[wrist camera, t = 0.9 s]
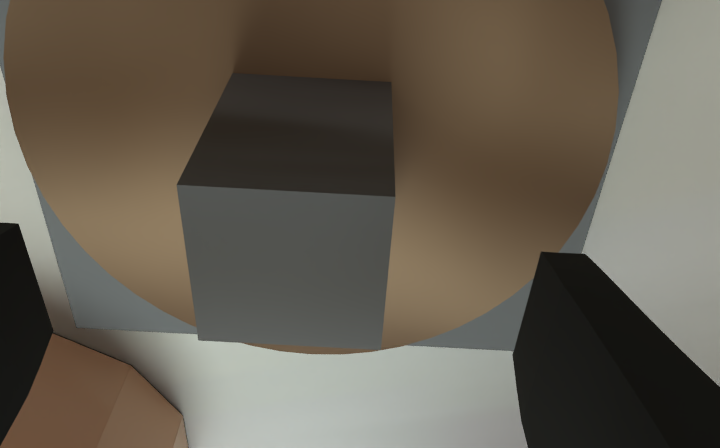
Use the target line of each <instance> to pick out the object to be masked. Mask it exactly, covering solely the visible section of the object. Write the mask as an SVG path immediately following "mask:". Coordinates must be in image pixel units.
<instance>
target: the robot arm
mask: <svg viewBox="0 0 720 448" xmlns="http://www.w3.org/2000/svg"><path fill="white" fill-rule="evenodd" d="M52 333H53V328H52V325H51V322H50V319H49V316H48V313H47V310H46V307H45V304H44V301H43V298H42V295H41V292H40V288H39V285H38V282H37V279H36V276H35V273H34V270H33V267H32V264H31V261H30V258H29V255H28V252H27V249H26V246H25V242H24V239H23V236H22V233H21V230H20V227H19V224H15V223H0V446H1V444H2V442H3V440H4V439H5V437H6V435H7V433H8V431H9V430H10V428H11V426H12V424H13V422H14V420H15V419H16V417H17V415H18V413H19V411H20V410H21V408H22V406H23V404H24V402H25V400H26V398H27V397H28V394H29V392H30V390H31V387H32V385H33V382H34V380H35V378H36V375H37V373H38V370H39V368H40V365H41V363H42V360H43V357H44V355H45V352H46V349H47V347H48V344H49V341H50V339H51V336H52ZM513 361H514V369H515V377H516V386H517V393H518V400H519V407H520V414H521V421H522V425H523V429H524V433H525V437H526V441H527V445H528V448H720V387H719V386H718V385H717V384H716V383H715V382H714V381H713V380H712V379H711V378H710V377H708V376H707V375H706V374H705V373H704V372H703V371H702V370H701V369H700V368H699V367H698V366H697V365H696V364H695V363H694V362H693V361H692V360H691V359H690V358H689V357H687V356H686V355H685V354H684V353H683V352H682V351H681V350H680V349H679V348H678V347H677V346H676V345H675V344H674V343H673V342H672V341H671V340H670V339H669V338H668V337H667V336H666V335H665V334H664V333H663V332H662V331H661V330H660V329H659V328H658V327H657V326H656V325H655V324H654V323H653V322H652V321H651V320H650V319H649V318H648V317H647V316H646V315H645V314H644V313H643V312H642V311H641V310H640V309H639V308H638V307H637V306H636V305H635V304H634V303H633V302H632V301H631V300H630V298H629V297H628V296H627V295H626V294H625V293H624V292H623V291H622V290H621V289H620V288H619V287H618V286H617V285H616V284H615V283H614V282H613V281H612V280H611V279H610V278H609V277H608V276H607V275H606V274H605V273H604V272H603V271H602V270H601V269H600V268H599V267H598V266H597V265H596V264H595V263H594V262H593V261H592V260H591V259H590V258H589V257H588V256H587V255H586V254H576V253H558V252H541V253H540V257H539V261H538V264H537V268H536V272H535V275H534V279H533V283H532V286H531V290H530V294H529V297H528V301H527V304H526V308H525V312H524V315H523V319H522V323H521V326H520V330H519V334H518V337H517V341H516V345H515V348H514V352H513Z"/></svg>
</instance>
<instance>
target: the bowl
mask: <svg viewBox="0 0 720 448" xmlns="http://www.w3.org/2000/svg"><path fill="white" fill-rule="evenodd" d="M0 448H188V443H187V438H186V432H185V426H184V421H183V415H181V414H180V413H179V412H178V411H177V410H176V409H175V408H174V407H173V406H172V405H171V404H170V403H169V402H168V401H167V400H166V399H165V398H164V397H163V396H162V395H161V394H160V393H159V392H158V391H157V390H156V389H155V388H154V387H153V386H152V385H151V384H149V383H148V382H147V381H146V380H145V379H144V378H143V377H142V376H141V375H140V374H139V373H138V372H137V371H136V370H135V369H134V368H133V367H132V366H131V365H128V364H126V363H123V362H121V361H119V360H116V359H114V358H111V357H109V356H106V355H104V354H102V353H99V352H97V351H94V350H92V349H89V348H87V347H85V346H82V345H80V344H77V343H75V342H72V341H70V340H67V339H65V338H63V337H60V336H58V335H55V334H53V333H52V336H51V339H50V341H49V344H48V347H47V349H46V352H45V355H44V357H43V360H42V363H41V365H40V368H39V370H38V373H37V375H36V378H35V380H34V382H33V385H32V387H31V390H30V392H29V394H28V397H27V398H26V400H25V402H24V404H23V406H22V408H21V410H20V411H19V413H18V415H17V417H16V419H15V420H14V422H13V424H12V426H11V428H10V430H9V431H8V433H7V435H6V437H5V439H4V440H3V442H2V444H1V446H0Z"/></svg>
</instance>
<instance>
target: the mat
mask: <svg viewBox="0 0 720 448" xmlns="http://www.w3.org/2000/svg"><path fill="white" fill-rule="evenodd" d="M661 1H662V0H604V3H605V5H606V8H607V11H608V14H609V18H610V23H611V28H612V33H613V38H614V43H615V47H616V52H617V68H618V86H619V96H618V107H617V117H616V128H615V133H614V137H613V141H612V146H611V150H610V154H609V158H608V162H607V166H606V168H605V171H604V173H603V176H602V178H601V181H600V183H599V186H598V189H597V191H596V194H595V196H594V198H593V200H592V202H591V203H590V205H589V207H588V209H587V211H586V212H585V214H584V216H583V218H582V220H581V221H580V223H579V225H578V227H577V228H576V229H575V231H574V232H573V233H572V235H571V236H570V237H569V239H568V240H567V241H566V243H565V244H564V246H563V247H562V248H561V250H560V251H559V252H558V253H576V254H581V252H582V249H583V246H584V243H585V240H586V237H587V234H588V230H589V227H590V224H591V221H592V218H593V215H594V212H595V208H596V205H597V202H598V199H599V196H600V193H601V190H602V186H603V183H604V180H605V177H606V174H607V171H608V168H609V165H610V161H611V158H612V155H613V152H614V149H615V146H616V143H617V139H618V136H619V133H620V130H621V127H622V124H623V121H624V117H625V114H626V111H627V108H628V105H629V102H630V99H631V95H632V92H633V89H634V86H635V83H636V80H637V77H638V74H639V70H640V67H641V64H642V61H643V58H644V55H645V52H646V48H647V45H648V42H649V39H650V36H651V33H652V30H653V26H654V23H655V20H656V17H657V14H658V11H659V8H660V5H661ZM9 2H10V0H0V66H1V70H2V73H3V77H4V80H5V71H4V59H3V56H4V40H5V25H6V16H7V11H8V7H9ZM5 84H6V83H5ZM32 176H33V175H32ZM33 180H34V183H35V187H36V190H37V194H38V197H39V200H40V204H41V207H42V211H43V214H44V218H45V221H46V225H47V228H48V231H49V235H50V238H51V242H52V245H53V249H54V252H55V255H56V259H57V262H58V266H59V269H60V273H61V276H62V280H63V283H64V286H65V290H66V293H67V297H68V300H69V304H70V307H71V310H72V314H73V317H74V321H75V324H76V328H91V329H110V330H129V331H148V332H166V333H185V334H197V327H194V326H192V325H189V324H187V323H185V322H183V321H181V320H179V319H177V318H175V317H173V316H171V315H169V314H167V313H165V312H163V311H162V310H160V309H158V308H157V307H155V306H154V305H152V304H150V303H149V302H147V301H146V300H144V299H142V298H141V297H139V296H138V295H136V294H135V293H133V292H132V291H131V290H129V289H128V288H127V287H125V286H124V285H123V284H122V283H120V282H119V281H118V280H116V279H115V278H114V277H112V276H111V275H110V274H109V273H108V272H107V271H106V270H104V269H103V268H102V267H101V266H100V265H99V264H98V263H97V262H96V261H95V260H94V259H93V258H92V257H91V256H90V255H89V254H88V253H87V252H85V250H84V249H83V248H82V247H81V246H80V245H79V243H78V242H77V241H76V240H75V239H74V238H73V236H72V235H71V234H70V233H69V232H68V231H67V229H66V228H65V227H64V226H63V225H62V223H61V222H60V220H59V219H58V217H57V216H56V214H55V213H54V211H53V210H52V208H51V207H50V205H49V204H48V203H47V201H46V200H45V198H44V197H43V195H42V193H41V191H40V189H39V187H38V185H37V183H36V181H35V179H34V177H33ZM533 279H534V278H533ZM533 279H532V280H531V281H529V282H528V283H527V284H526V285H525V286H523V287H522V288H521V289H520V290H519V291H517V292H516V293H515V294H514V295H513V296H511V297H510V298H508V299H507V300H505V301H504V302H502V303H501V304H499V305H498V306H496V307H494V308H493V309H491V310H490V311H488V312H487V313H485V314H483V315H481V316H479V317H477V318H475V319H474V320H472V321H470V322H468V323H466V324H464V325H462V326H460V327H458V328H455V329H453V330H450V331H448V332H445V333H442V334H440V335H437V336H435V337H432V338H429V339H426V340H422V341H419V342H415V343H412V344H408V345H411V346H429V347H448V348H467V349H486V350H505V351H514V348H515V345H516V341H517V337H518V334H519V330H520V326H521V323H522V319H523V315H524V312H525V308H526V304H527V301H528V297H529V294H530V290H531V286H532V283H533Z"/></svg>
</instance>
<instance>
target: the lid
mask: <svg viewBox="0 0 720 448" xmlns="http://www.w3.org/2000/svg"><path fill="white" fill-rule="evenodd" d="M3 59H4V71H5V83H6V95H7V100H8V104H9V108H10V113H11V117H12V122H13V126H14V130H15V134H16V136H17V139H18V142H19V144H20V147H21V150H22V152H23V155H24V158H25V161H26V163H27V166H28V168H29V170H30V172H31V173H32V175H33V177H34V179H35V181H36V183H37V185H38V187H39V189H40V191H41V193H42V195H43V197H44V198H45V200H46V201H47V203H48V204H49V205H50V207H51V208H52V210H53V211H54V213H55V214H56V216H57V217H58V219H59V220H60V222H61V223H62V225H63V226H64V227H65V228H66V229H67V231H68V232H69V233H70V234H71V235H72V236H73V238H74V239H75V240H76V241H77V242H78V243H79V245H80V246H81V247H82V248H83V249H84V250H85V252H87V253H88V254H89V255H90V256H91V257H92V258H93V259H94V260H95V261H96V262H97V263H98V264H99V265H100V266H101V267H102V268H103V269H104V270H106V271H107V272H108V273H109V274H110V275H111V276H112V277H114V278H115V279H116V280H118V281H119V282H120V283H122V284H123V285H124V286H125V287H127V288H128V289H129V290H131V291H132V292H133V293H135V294H136V295H138V296H139V297H141V298H142V299H144V300H146V301H147V302H149V303H150V304H152V305H154V306H155V307H157V308H158V309H160V310H162V311H163V312H165V313H167V314H169V315H171V316H173V317H175V318H177V319H179V320H181V321H183V322H185V323H187V324H189V325H192V326H194V327H197V334H198V340H202V341H221V342H239V343H244V344H248V345H251V346H257V347H262V348H267V349H272V350H278V351H285V352H295V353H305V354H351V353H362V352H373V351H378V350H384V349H389V348H395V347H401V346H404V345H408V344H412V343H415V342H419V341H422V340H426V339H429V338H432V337H435V336H437V335H440V334H442V333H445V332H448V331H450V330H453V329H455V328H458V327H460V326H462V325H464V324H466V323H468V322H470V321H472V320H474V319H475V318H477V317H479V316H481V315H483V314H485V313H487V312H488V311H490V310H491V309H493V308H494V307H496V306H498V305H499V304H501V303H502V302H504V301H505V300H507V299H508V298H510V297H511V296H513V295H514V294H515V293H516V292H517V291H519V290H520V289H521V288H522V287H523V286H525V285H526V284H527V283H528V282H529V281H531V280H532V279H533V278H534V275H535V272H536V268H537V264H538V261H539V257H540V253H541V252H559V251H560V250H561V248H562V247H563V246H564V244H565V243H566V241H567V240H568V239H569V237H570V236H571V235H572V233H573V232H574V231H575V229H576V228H577V227H578V225H579V223H580V221H581V220H582V218H583V216H584V214H585V212H586V211H587V209H588V207H589V205H590V203H591V202H592V200H593V198H594V196H595V194H596V191H597V189H598V186H599V183H600V181H601V178H602V176H603V173H604V171H605V168H606V166H607V162H608V158H609V154H610V150H611V146H612V141H613V137H614V133H615V128H616V117H617V107H618V96H619V86H618V68H617V52H616V47H615V43H614V38H613V33H612V28H611V23H610V18H609V14H608V11H607V8H606V5H605V3H604V0H10V2H9V7H8V11H7V16H6V25H5V40H4V56H3Z"/></svg>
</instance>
